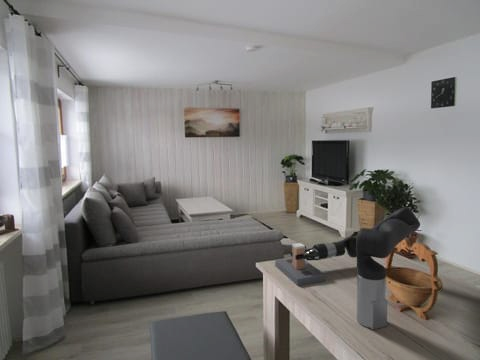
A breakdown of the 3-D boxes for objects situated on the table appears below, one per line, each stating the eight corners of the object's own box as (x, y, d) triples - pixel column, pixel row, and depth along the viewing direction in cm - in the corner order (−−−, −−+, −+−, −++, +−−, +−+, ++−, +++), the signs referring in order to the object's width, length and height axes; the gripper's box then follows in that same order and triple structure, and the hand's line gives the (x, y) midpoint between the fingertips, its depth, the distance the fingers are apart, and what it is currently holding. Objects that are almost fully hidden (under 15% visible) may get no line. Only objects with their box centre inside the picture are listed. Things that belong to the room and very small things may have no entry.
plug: (304, 273, 155) (304, 245, 153) (296, 275, 153) (296, 247, 151) (300, 270, 159) (300, 243, 157) (292, 271, 157) (292, 244, 156)
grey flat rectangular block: (324, 280, 147) (324, 274, 146) (297, 285, 143) (297, 278, 142) (299, 261, 169) (299, 256, 169) (275, 265, 165) (275, 260, 165)
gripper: (332, 263, 153) (300, 268, 148) (316, 253, 166) (286, 258, 161) (332, 248, 152) (300, 253, 147) (316, 239, 165) (286, 243, 160)
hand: (293, 255), depth 154 cm, fingers closed on plug, 4 cm apart
